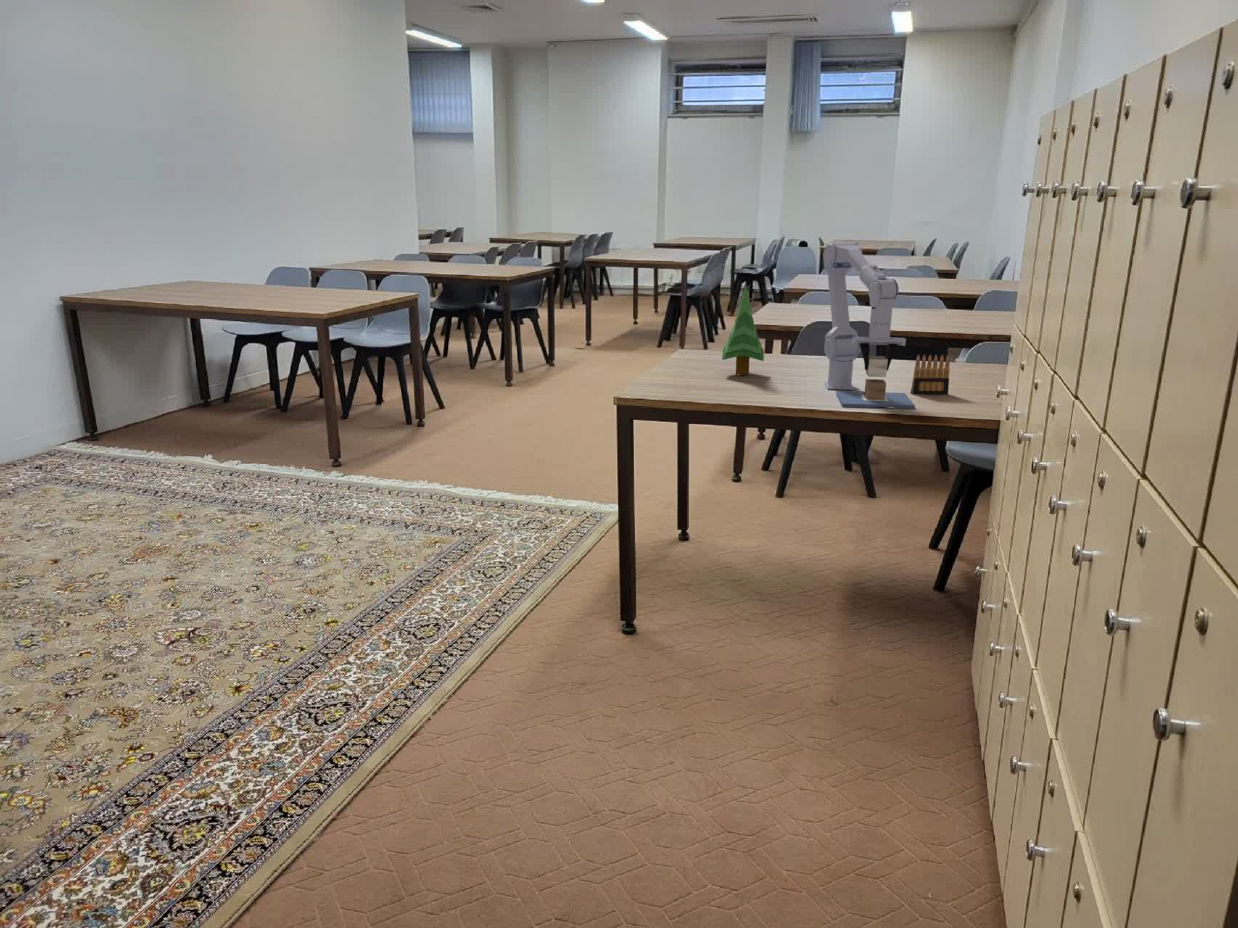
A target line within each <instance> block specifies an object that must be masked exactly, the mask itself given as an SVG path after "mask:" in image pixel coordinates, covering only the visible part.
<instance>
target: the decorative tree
mask: <svg viewBox="0 0 1238 928" xmlns="http://www.w3.org/2000/svg"><path fill="white" fill-rule="evenodd" d="M739 302H740V303H739V307H738V309H737V310H738V311H737V315H736V318H735V320H734V325H733V327H732V329H731V333H730V334H729V335H728V340H727V341H726V342H725V346H724V347H723V348H722V355H721V356H722V357H721V360H722V361H724V360H728V359H733V358H735V375H736V374H739V375H748V376H749V375H750V359H754V360H758V361H762V362H764V361H765V360H764V359H765V356H764V355H765V350H764V348H763V347H762V342H761V341H760V336H759V335H758V333H757V329H756V326H755V321H754V318H753V317H754V316H753V315H752V311H753V310H752V306H751V302H750V296H749V291H748V287H747V284H745V285H744V290H743V292H742V296H741V299H740V301H739Z"/></svg>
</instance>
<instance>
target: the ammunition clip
mask: <svg viewBox="0 0 1238 928" xmlns="http://www.w3.org/2000/svg"><path fill="white" fill-rule="evenodd" d="M939 358H940V359H939ZM939 358H938V355H937V354H935V356H934V359H933V358H932V354H929V356H928V359H927V357H926V354H923V356H922V360H921V357H920V354H918V355H917V357H916V360H915V365H914V370H913V377H912V383H911V389H910V394H911V395H913V394H919V396H929V395H930V396H933V395H935V396H948V395H949V387H950V386H949V383H950V378H949V377H950V369H951V368H950V365H951V364H950V360H951V358H950V355H949V354H947V356H946V358H944V354H941V356H940V357H939ZM932 359H933V360H932ZM938 359H939V360H938ZM944 360H945V361H944ZM944 362H945V363H944ZM938 363H939V364H938ZM921 394H922V395H921ZM923 394H924V395H923Z"/></svg>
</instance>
